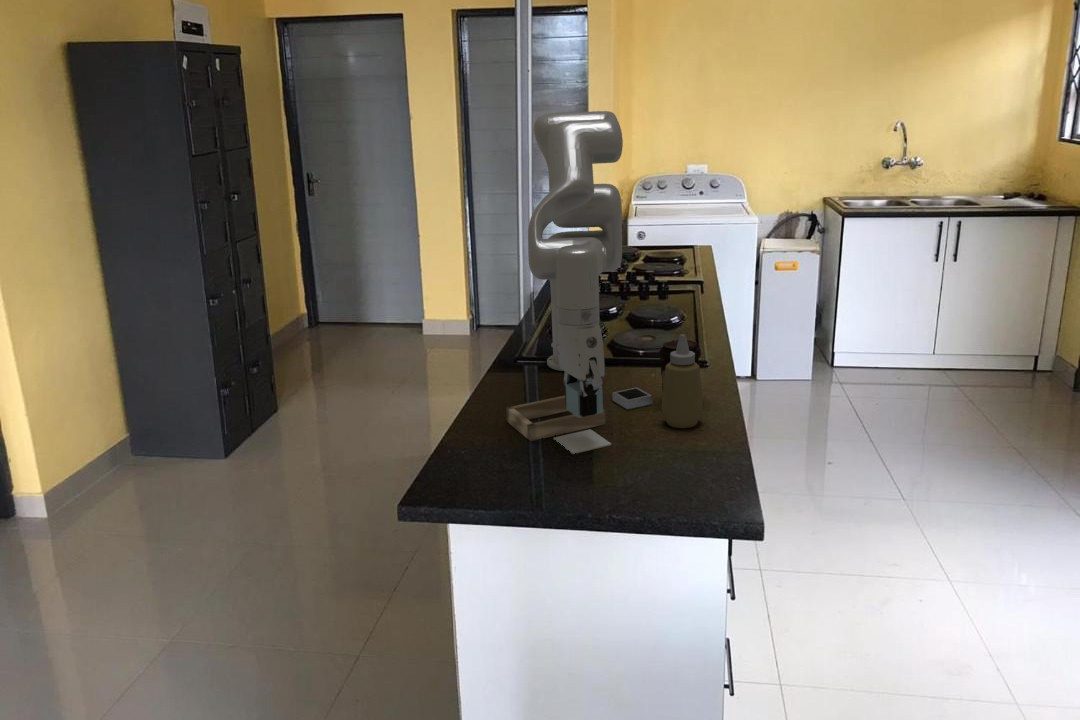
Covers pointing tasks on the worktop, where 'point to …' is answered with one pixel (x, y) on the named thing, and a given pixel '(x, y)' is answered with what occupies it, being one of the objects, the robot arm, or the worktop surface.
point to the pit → (632, 398)
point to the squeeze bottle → (682, 388)
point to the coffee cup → (672, 346)
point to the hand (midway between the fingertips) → (581, 409)
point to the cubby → (548, 428)
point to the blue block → (574, 398)
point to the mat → (582, 441)
